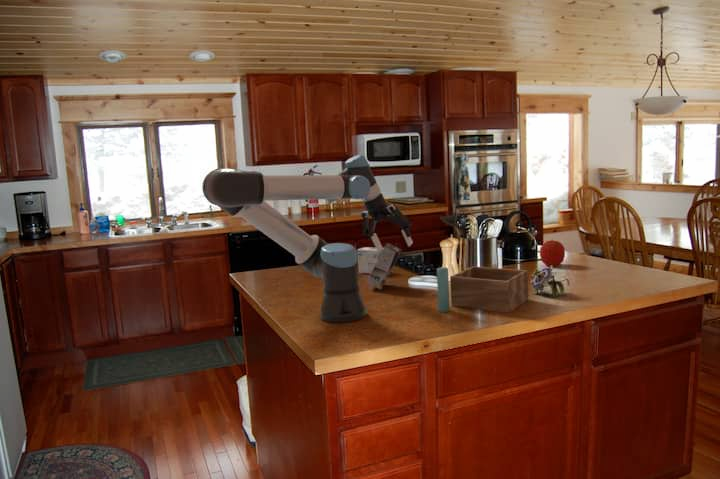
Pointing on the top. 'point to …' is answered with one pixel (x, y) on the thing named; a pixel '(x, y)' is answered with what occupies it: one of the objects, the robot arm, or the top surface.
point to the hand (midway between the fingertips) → (395, 247)
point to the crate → (489, 288)
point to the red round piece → (552, 253)
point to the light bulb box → (367, 259)
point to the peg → (443, 289)
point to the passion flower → (546, 281)
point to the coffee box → (384, 265)
